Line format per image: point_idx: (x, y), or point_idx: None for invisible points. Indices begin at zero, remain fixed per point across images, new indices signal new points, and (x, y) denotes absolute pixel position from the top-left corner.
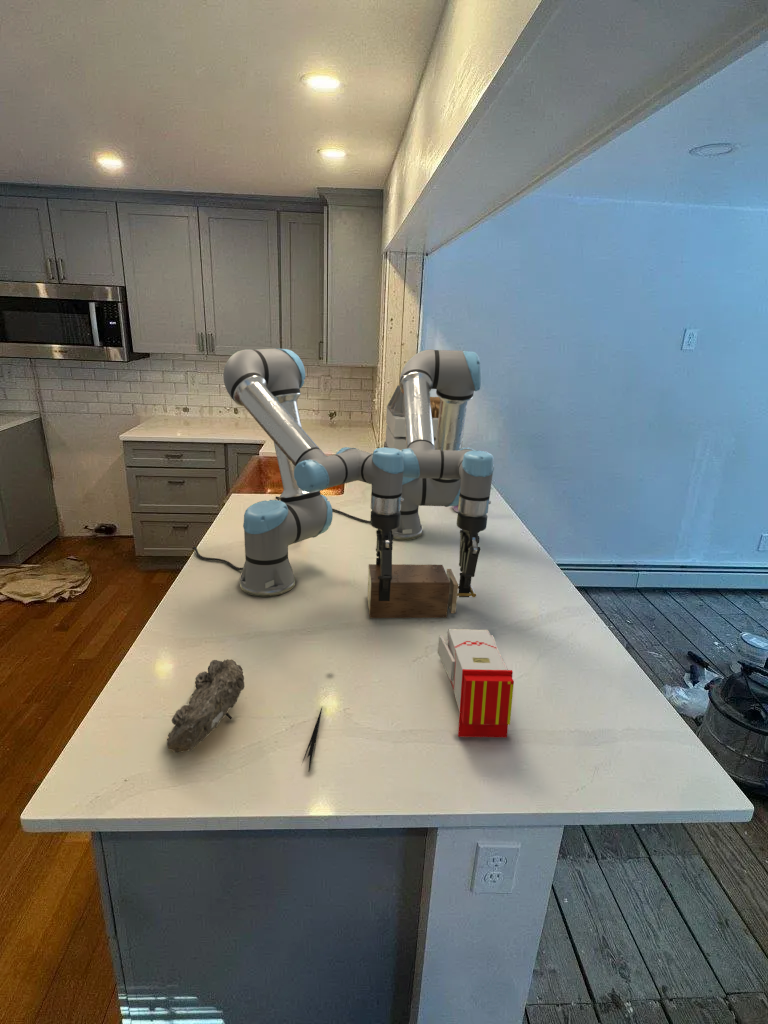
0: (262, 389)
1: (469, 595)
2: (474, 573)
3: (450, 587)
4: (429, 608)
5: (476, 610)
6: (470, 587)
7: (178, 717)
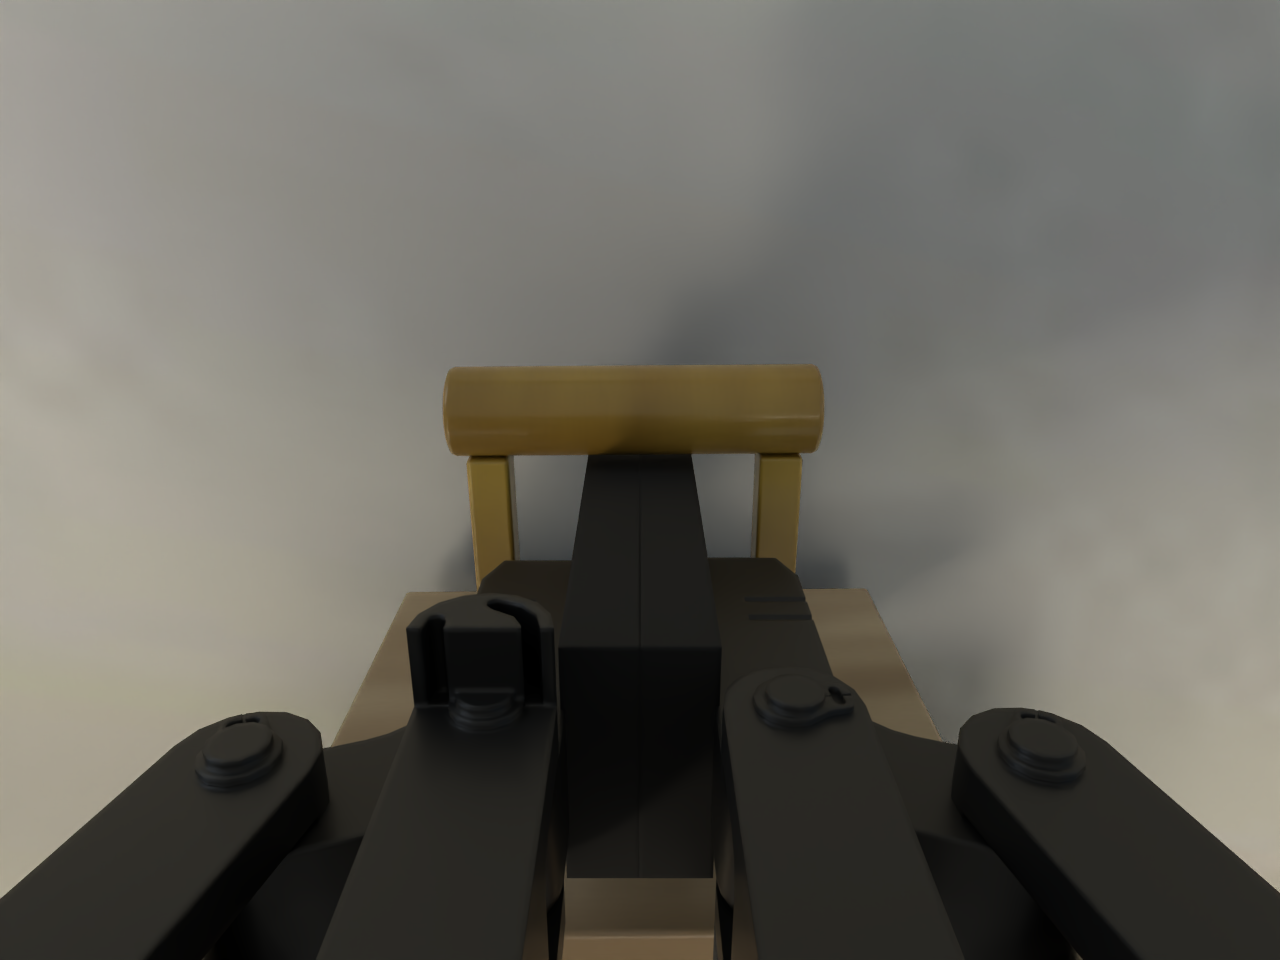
0: None
1: (795, 482)
2: (1189, 827)
3: None
4: None
5: (718, 256)
6: (572, 439)
7: None
